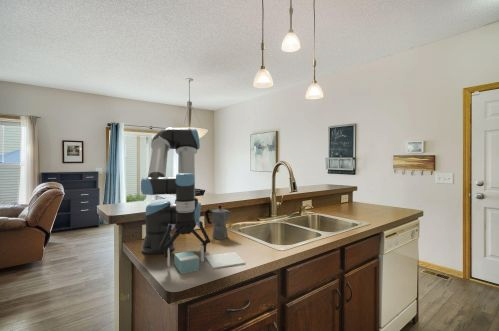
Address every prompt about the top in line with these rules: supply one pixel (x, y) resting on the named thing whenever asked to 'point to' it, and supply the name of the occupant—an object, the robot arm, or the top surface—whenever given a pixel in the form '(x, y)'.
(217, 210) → the coffeepot
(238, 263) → the mat
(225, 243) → the top surface
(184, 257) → the light blue block
